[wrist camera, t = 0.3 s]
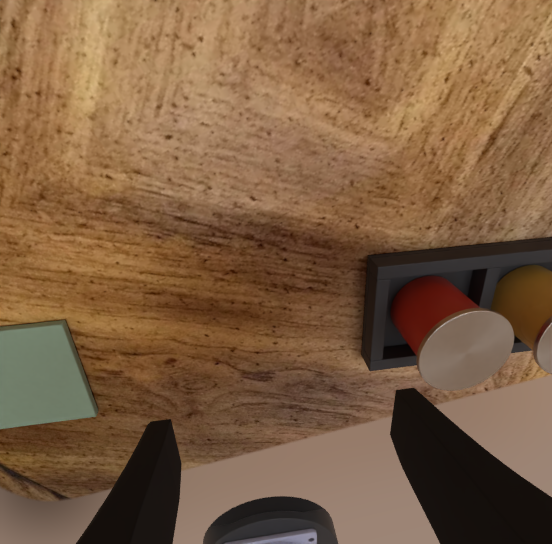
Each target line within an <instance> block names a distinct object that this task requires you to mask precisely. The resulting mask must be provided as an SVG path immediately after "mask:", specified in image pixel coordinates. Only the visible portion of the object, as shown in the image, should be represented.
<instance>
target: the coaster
mask: <svg viewBox="0 0 552 544" xmlns="http://www.w3.org/2000/svg"><path fill="white" fill-rule="evenodd" d="M97 413H98V408H97V406H96V403H95V400H94V397H93V395H92V392H91V389H90V386H89V384H88V381H87V378H86V376H85V373H84V370H83V367H82V365H81V362H80V359H79V356H78V354H77V351H76V348H75V345H74V343H73V340H72V337H71V334H70V332H69V329H68V326H67V323H66V321H65V320H60V321H50V322H41V323H32V324H22V325H13V326H4V327H0V429H4V428H12V427H20V426H27V425H35V424H43V423H50V422H58V421H66V420H73V419H81V418H89V417H96V416H97Z"/></svg>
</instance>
